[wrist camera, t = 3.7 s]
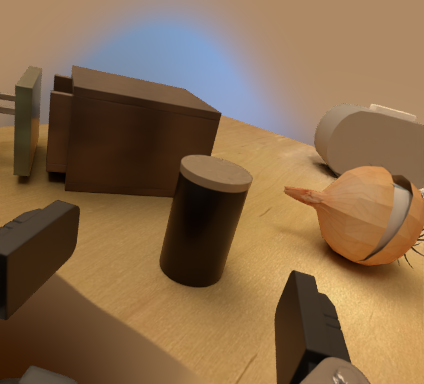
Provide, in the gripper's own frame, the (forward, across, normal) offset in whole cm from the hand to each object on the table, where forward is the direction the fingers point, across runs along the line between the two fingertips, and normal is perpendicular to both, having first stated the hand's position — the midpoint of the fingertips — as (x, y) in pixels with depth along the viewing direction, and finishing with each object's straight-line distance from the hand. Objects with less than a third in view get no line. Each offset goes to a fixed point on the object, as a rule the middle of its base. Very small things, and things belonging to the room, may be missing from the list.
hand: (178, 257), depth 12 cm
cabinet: (+25, +11, +8) cm, 29 cm away
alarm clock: (+54, -25, +8) cm, 60 cm away
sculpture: (+20, -13, +8) cm, 26 cm away
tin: (+11, 0, +8) cm, 13 cm away
